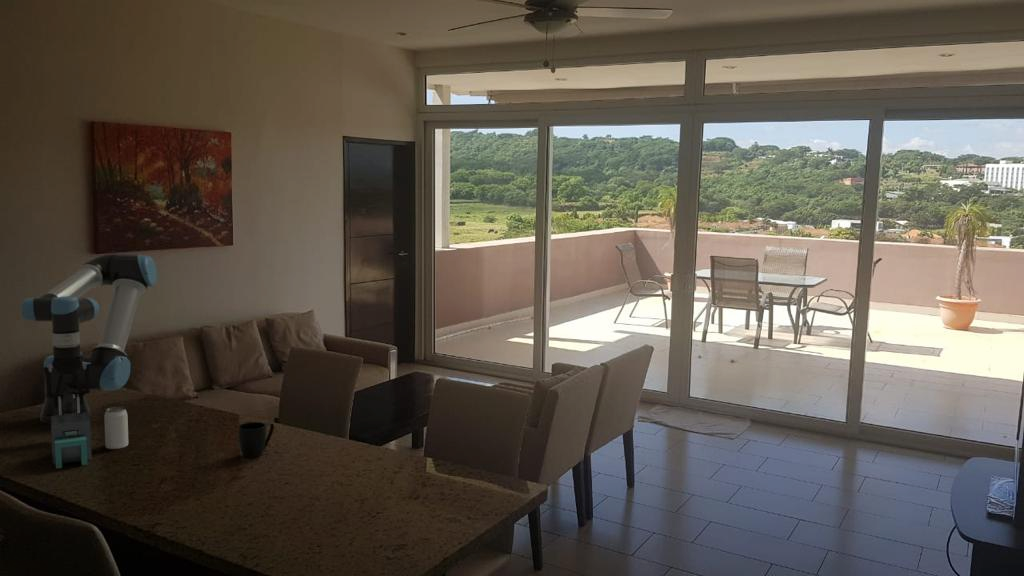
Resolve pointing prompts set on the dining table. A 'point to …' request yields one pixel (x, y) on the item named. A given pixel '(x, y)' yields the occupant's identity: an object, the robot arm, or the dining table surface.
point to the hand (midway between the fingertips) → (69, 416)
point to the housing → (66, 424)
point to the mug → (253, 438)
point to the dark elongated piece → (69, 409)
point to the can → (116, 428)
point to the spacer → (68, 443)
